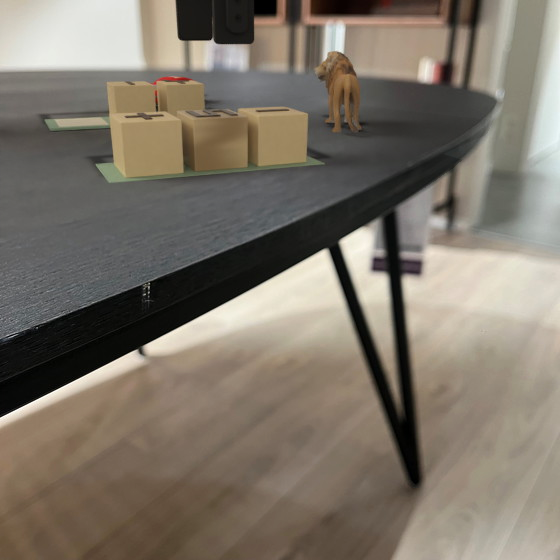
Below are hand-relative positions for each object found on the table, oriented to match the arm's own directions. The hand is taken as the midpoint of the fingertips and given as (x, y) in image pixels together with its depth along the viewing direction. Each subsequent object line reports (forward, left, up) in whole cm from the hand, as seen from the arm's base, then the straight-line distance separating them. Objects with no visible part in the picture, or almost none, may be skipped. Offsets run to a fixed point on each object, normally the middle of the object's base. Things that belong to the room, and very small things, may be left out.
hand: (213, 42), depth 48 cm
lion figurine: (+23, +16, -11) cm, 30 cm away
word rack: (-1, +27, -11) cm, 29 cm away
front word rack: (0, 0, -11) cm, 11 cm away
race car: (+8, +43, -11) cm, 45 cm away
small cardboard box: (0, 0, -10) cm, 10 cm away
